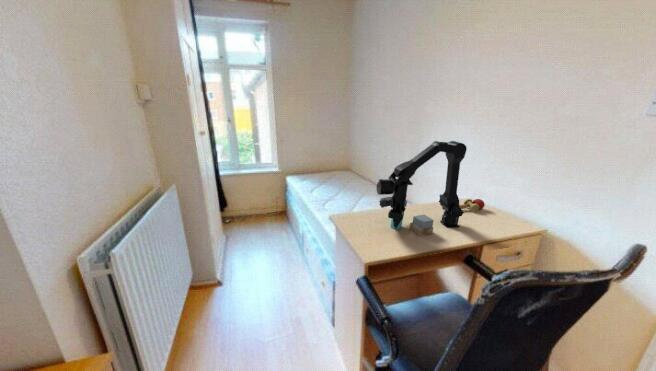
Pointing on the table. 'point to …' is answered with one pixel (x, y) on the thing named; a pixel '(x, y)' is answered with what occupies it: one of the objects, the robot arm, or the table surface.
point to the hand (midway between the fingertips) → (396, 224)
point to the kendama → (473, 204)
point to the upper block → (422, 221)
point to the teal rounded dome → (397, 226)
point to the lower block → (421, 230)
